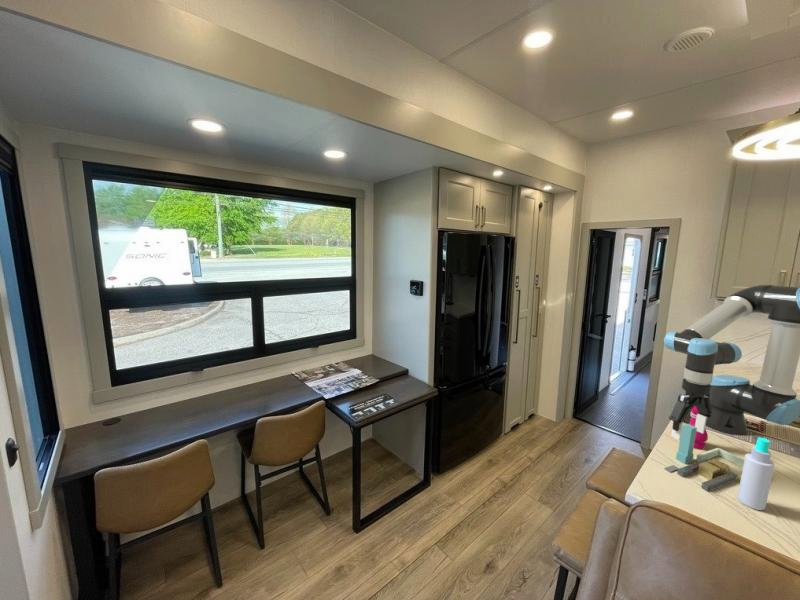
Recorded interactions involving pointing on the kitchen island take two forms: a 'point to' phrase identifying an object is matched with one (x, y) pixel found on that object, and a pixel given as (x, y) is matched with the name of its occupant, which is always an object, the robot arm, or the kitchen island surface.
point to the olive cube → (720, 466)
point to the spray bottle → (756, 476)
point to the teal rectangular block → (686, 444)
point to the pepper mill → (699, 437)
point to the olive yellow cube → (708, 470)
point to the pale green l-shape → (721, 453)
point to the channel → (710, 483)
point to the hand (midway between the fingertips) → (687, 434)
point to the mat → (671, 468)
